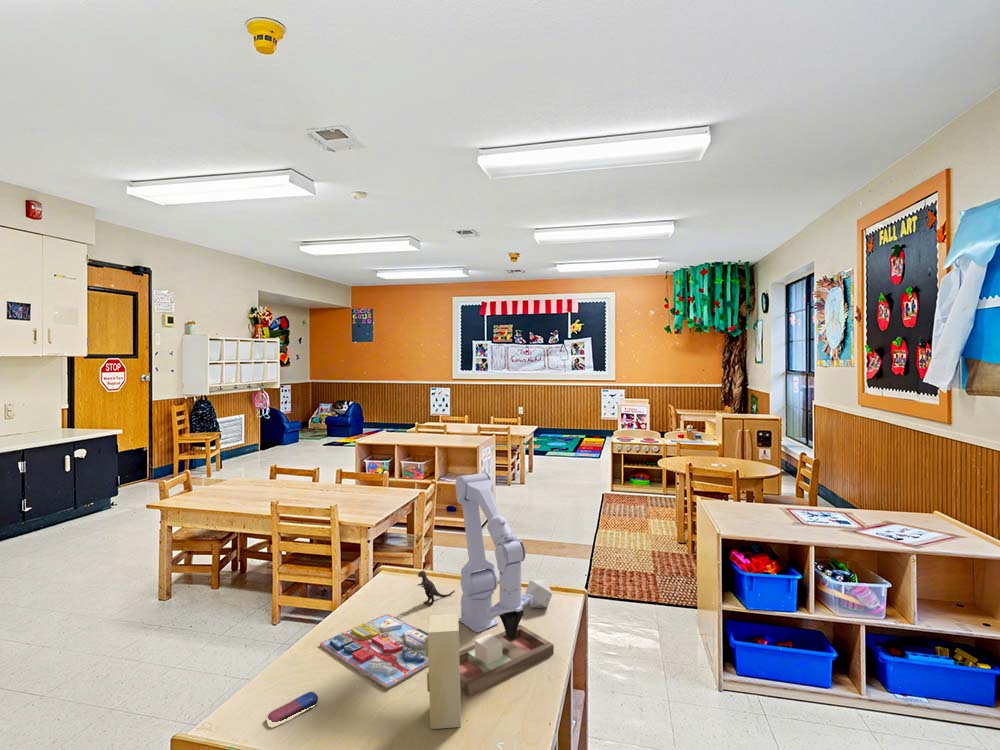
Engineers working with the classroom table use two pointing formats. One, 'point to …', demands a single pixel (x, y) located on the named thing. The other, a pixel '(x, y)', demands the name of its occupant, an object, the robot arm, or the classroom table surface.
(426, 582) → the dinosaur model
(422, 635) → the puzzle board
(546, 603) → the die
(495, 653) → the block
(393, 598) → the classroom table surface
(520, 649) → the tray
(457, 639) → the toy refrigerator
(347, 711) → the classroom table surface
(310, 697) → the eraser
